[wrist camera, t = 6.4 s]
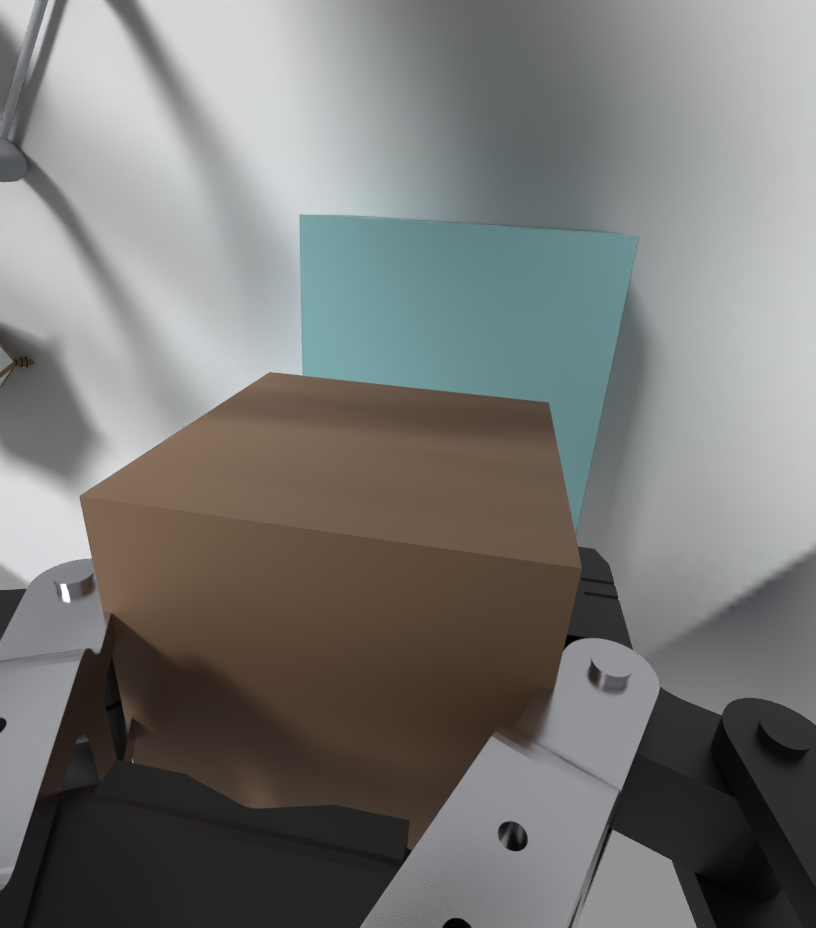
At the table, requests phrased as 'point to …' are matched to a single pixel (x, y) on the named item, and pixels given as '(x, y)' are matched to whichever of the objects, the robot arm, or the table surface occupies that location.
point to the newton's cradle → (3, 156)
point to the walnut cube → (336, 590)
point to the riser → (470, 315)
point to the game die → (9, 363)
